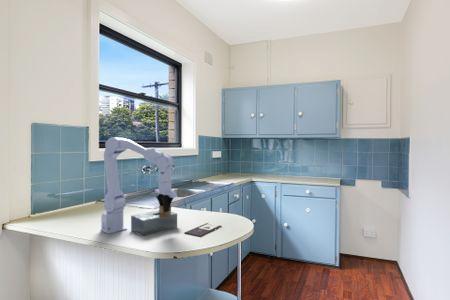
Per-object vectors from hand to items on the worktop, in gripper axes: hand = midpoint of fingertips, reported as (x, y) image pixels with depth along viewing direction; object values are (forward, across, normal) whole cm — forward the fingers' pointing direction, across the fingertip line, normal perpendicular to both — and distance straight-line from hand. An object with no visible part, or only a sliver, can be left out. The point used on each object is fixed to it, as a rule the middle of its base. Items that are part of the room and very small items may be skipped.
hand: (164, 211), depth 129 cm
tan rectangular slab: (+2, 0, 0) cm, 3 cm away
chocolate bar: (+11, -8, -16) cm, 21 cm away
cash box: (+10, +10, 0) cm, 14 cm away
